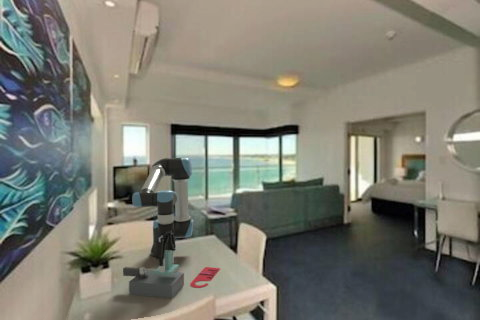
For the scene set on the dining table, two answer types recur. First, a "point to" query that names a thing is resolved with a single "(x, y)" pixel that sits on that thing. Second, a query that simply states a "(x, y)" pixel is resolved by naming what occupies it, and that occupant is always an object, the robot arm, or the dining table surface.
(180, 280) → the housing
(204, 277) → the door hanger
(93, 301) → the dining table surface
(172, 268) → the cover
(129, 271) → the grey lever handle
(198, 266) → the dining table surface
